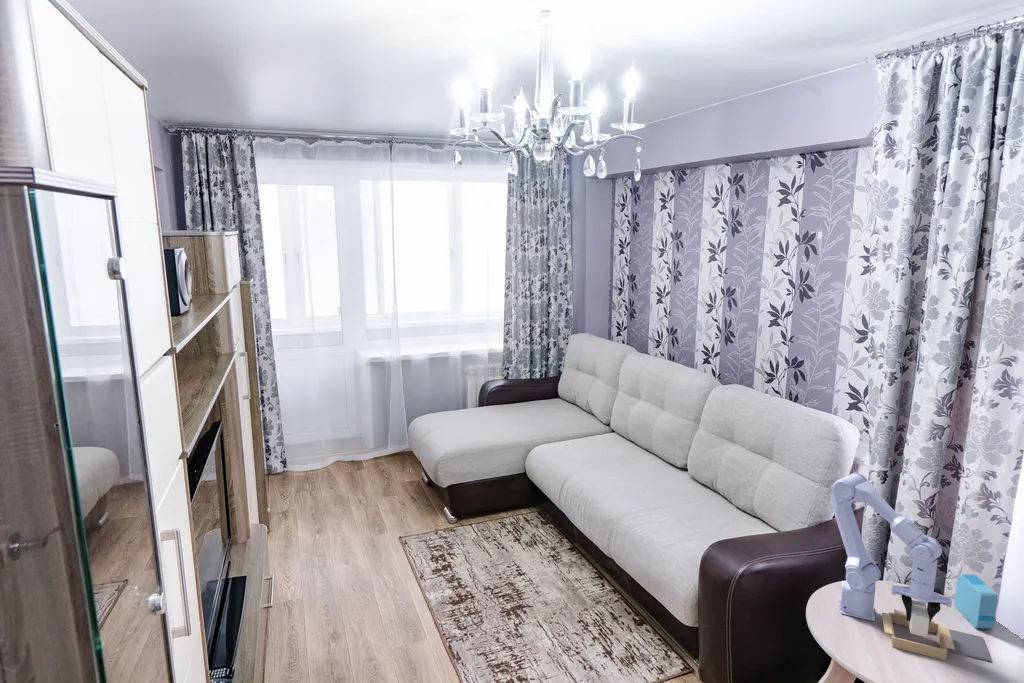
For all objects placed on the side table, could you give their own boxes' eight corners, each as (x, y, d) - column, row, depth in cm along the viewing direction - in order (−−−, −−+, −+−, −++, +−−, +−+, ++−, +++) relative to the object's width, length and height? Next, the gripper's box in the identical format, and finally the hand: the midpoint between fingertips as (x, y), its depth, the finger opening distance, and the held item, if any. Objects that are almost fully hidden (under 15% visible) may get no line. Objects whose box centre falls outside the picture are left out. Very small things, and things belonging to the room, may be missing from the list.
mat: (951, 652, 172) (952, 651, 172) (945, 629, 182) (945, 628, 182) (991, 662, 168) (991, 660, 168) (981, 638, 178) (982, 636, 178)
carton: (884, 644, 176) (885, 634, 175) (880, 615, 189) (881, 606, 188) (954, 662, 168) (955, 651, 168) (944, 630, 181) (946, 620, 181)
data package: (993, 631, 181) (998, 595, 178) (976, 630, 181) (981, 594, 179) (968, 606, 192) (973, 572, 190) (953, 605, 193) (957, 571, 191)
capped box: (910, 633, 174) (912, 614, 173) (907, 617, 181) (909, 599, 180) (927, 637, 173) (929, 618, 171) (923, 620, 180) (925, 602, 178)
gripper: (894, 580, 174) (889, 622, 176) (956, 593, 167) (950, 636, 170) (892, 567, 180) (887, 608, 183) (951, 580, 174) (945, 621, 176)
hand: (917, 621), depth 177 cm, fingers closed on capped box, 4 cm apart
